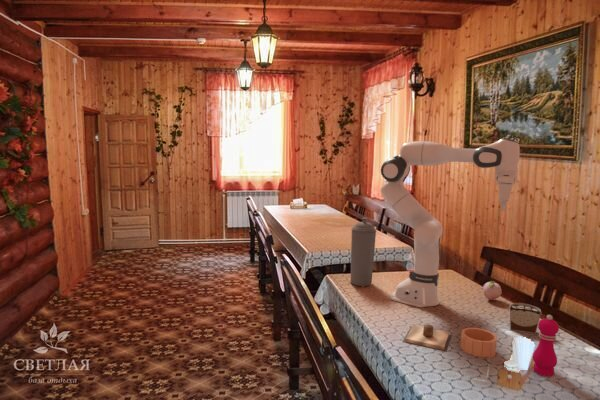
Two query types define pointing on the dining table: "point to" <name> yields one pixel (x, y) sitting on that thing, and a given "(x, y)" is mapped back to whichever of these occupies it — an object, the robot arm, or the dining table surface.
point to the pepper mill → (546, 347)
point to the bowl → (478, 342)
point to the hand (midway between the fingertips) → (502, 209)
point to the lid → (427, 336)
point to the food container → (524, 317)
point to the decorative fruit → (492, 290)
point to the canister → (362, 253)
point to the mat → (430, 347)
